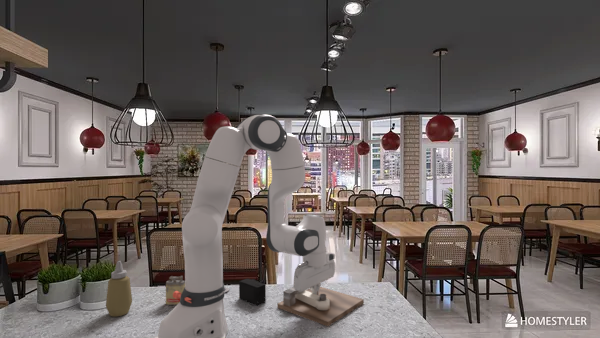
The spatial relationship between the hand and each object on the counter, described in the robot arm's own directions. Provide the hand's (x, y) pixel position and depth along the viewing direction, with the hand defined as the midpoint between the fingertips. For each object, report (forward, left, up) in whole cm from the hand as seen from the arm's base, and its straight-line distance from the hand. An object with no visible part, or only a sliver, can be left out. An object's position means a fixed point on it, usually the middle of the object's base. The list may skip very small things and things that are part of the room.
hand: (315, 295), depth 121 cm
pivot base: (+1, -2, -3) cm, 4 cm away
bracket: (-14, +40, -4) cm, 42 cm away
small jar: (-32, +41, -4) cm, 52 cm away
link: (-3, +1, -1) cm, 3 cm away
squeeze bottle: (-49, +48, -4) cm, 68 cm away
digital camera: (-12, +21, -4) cm, 24 cm away
